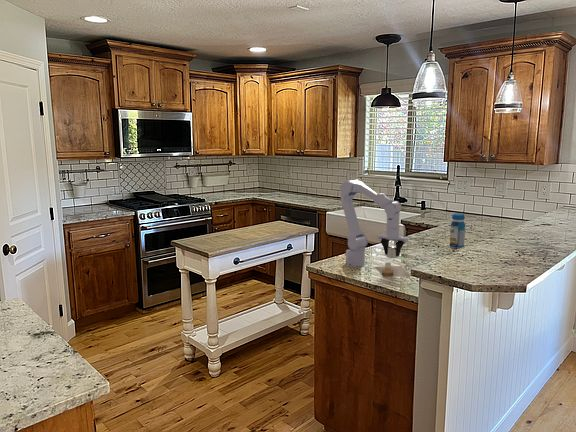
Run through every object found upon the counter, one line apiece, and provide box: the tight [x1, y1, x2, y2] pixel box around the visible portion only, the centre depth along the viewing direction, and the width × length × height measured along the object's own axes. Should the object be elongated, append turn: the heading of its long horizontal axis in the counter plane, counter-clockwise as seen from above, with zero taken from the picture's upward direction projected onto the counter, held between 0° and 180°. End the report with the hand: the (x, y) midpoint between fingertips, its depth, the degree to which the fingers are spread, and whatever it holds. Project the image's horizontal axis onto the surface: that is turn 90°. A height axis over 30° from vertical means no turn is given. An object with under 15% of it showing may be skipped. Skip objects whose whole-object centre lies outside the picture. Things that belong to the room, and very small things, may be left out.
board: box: [374, 265, 412, 278], centre depth 215 cm, size 13×17×1 cm
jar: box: [382, 262, 394, 275], centre depth 211 cm, size 5×5×5 cm
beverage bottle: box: [449, 212, 466, 249], centre depth 263 cm, size 8×8×20 cm
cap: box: [386, 245, 399, 259], centre depth 214 cm, size 5×5×5 cm
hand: (392, 255), depth 214 cm, fingers closed on cap, 5 cm apart
